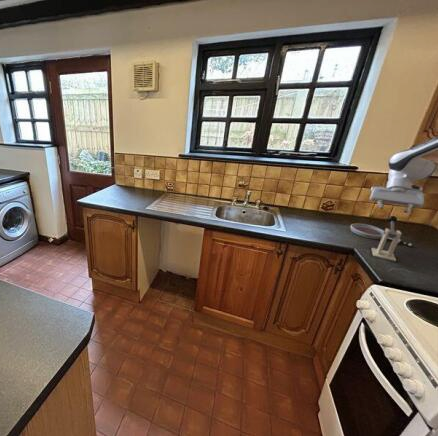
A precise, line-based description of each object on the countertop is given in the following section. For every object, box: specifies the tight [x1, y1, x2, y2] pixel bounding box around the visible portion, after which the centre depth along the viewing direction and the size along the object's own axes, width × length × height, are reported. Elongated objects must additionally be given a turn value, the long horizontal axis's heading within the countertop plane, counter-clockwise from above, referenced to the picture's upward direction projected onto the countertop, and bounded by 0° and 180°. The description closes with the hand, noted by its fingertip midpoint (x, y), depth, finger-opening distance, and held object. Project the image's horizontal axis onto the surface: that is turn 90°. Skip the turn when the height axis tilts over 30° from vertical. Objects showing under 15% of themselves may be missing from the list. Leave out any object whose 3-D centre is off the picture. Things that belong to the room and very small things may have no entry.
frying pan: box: [350, 223, 413, 247], centre depth 141 cm, size 17×3×28 cm
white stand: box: [371, 227, 402, 262], centre depth 119 cm, size 10×8×14 cm
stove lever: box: [387, 215, 398, 239], centre depth 120 cm, size 14×4×4 cm, turn 144°
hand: (393, 210), depth 125 cm, fingers open, 8 cm apart
